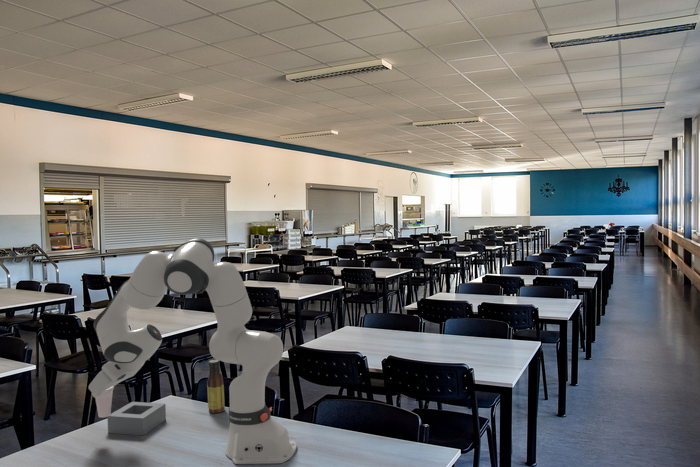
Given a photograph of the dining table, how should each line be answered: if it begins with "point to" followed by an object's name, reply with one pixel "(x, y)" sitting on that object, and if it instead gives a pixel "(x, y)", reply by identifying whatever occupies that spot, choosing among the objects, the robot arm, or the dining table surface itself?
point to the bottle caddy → (136, 418)
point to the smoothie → (104, 402)
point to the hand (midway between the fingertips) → (102, 391)
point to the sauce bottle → (215, 388)
